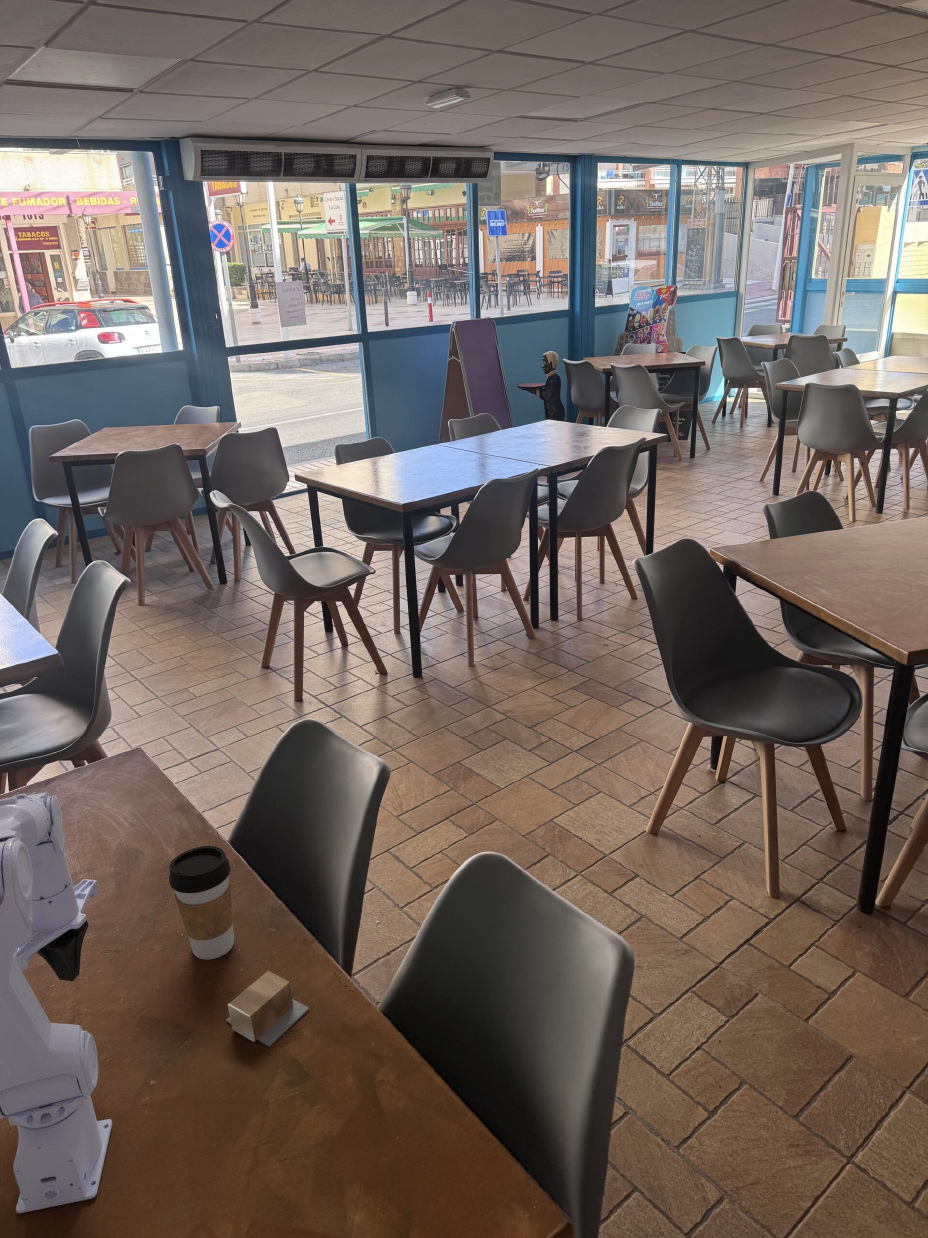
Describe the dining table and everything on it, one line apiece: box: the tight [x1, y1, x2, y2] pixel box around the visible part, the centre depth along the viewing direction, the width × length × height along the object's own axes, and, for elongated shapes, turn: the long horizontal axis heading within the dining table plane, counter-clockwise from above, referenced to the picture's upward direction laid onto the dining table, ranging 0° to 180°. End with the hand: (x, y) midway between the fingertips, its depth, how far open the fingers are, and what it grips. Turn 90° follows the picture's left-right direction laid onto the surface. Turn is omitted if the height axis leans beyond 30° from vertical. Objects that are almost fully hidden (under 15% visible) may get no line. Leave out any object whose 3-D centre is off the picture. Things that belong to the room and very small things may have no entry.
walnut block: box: [227, 970, 293, 1043], centre depth 113 cm, size 4×4×7 cm
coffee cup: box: [168, 845, 235, 960], centre depth 126 cm, size 8×8×15 cm
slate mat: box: [225, 998, 310, 1048], centre depth 115 cm, size 7×8×1 cm
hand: (69, 976), depth 110 cm, fingers closed
